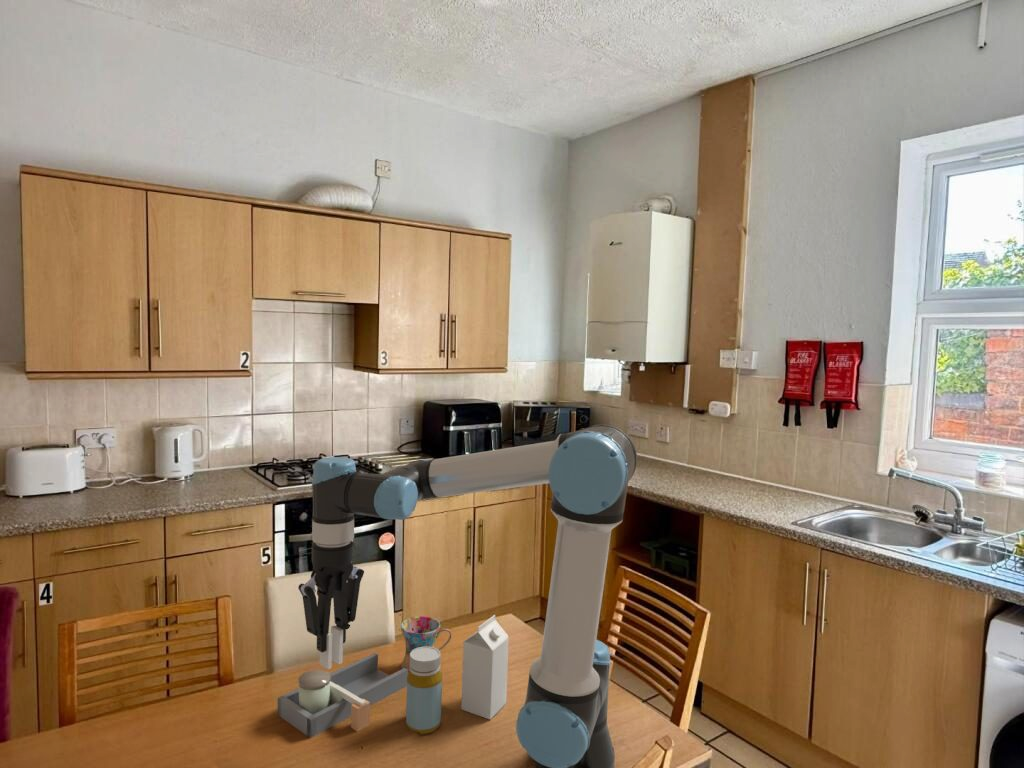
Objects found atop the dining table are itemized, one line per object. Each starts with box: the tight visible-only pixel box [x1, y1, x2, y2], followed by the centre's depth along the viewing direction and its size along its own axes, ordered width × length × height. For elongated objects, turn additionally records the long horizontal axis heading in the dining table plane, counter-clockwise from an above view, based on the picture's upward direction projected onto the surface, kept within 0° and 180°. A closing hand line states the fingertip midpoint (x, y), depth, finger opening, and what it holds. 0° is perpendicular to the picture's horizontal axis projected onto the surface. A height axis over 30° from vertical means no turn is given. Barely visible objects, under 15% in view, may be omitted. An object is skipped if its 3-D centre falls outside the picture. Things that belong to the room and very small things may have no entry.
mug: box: [400, 615, 452, 672], centre depth 152 cm, size 12×9×11 cm
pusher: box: [330, 681, 371, 732], centre depth 131 cm, size 15×3×5 cm, turn 52°
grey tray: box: [277, 652, 408, 739], centre depth 136 cm, size 11×25×4 cm, turn 142°
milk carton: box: [461, 614, 509, 720], centre depth 136 cm, size 7×7×19 cm
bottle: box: [405, 646, 443, 735], centre depth 129 cm, size 7×7×15 cm
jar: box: [297, 669, 331, 715], centre depth 130 cm, size 6×6×8 cm
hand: (331, 663), depth 120 cm, fingers open, 2 cm apart
